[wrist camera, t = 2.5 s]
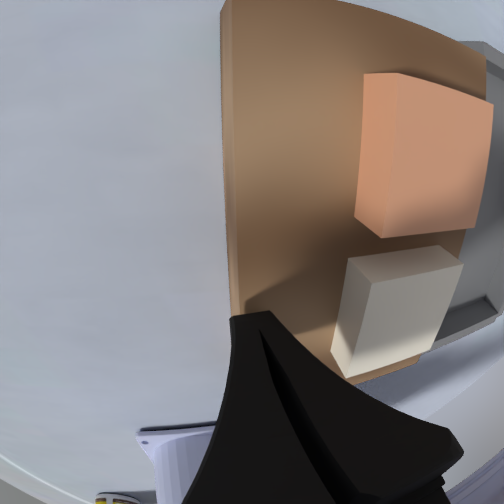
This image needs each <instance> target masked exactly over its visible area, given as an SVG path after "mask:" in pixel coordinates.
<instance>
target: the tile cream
mask: <svg viewBox="0 0 504 504" xmlns="http://www.w3.org/2000/svg"><path fill="white" fill-rule="evenodd" d="M463 265H464V264H463V263H462V262H461V261H460V260H458V259H457V258H456V257H454V256H453V255H452V254H450V253H449V252H448V251H446V250H445V249H444V248H442V247H441V246H440V245H435V246H429V247H422V248H415V249H408V250H402V251H395V252H388V253H381V254H374V255H367V256H359V257H352V258H348V262H347V269H346V275H345V280H344V286H343V292H342V297H341V302H340V308H339V313H338V318H337V323H336V327H335V332H334V337H333V341H332V346H331V350H330V351H331V353H332V355H333V357H334V358H335V360H336V362H337V364H338V366H339V367H340V369H341V371H342V373H343V375H344V376H345V378H349V377H352V376H356V375H359V374H362V373H365V372H369V371H372V370H375V369H378V368H381V367H384V366H387V365H390V364H393V363H396V362H399V361H401V360H404V359H407V358H410V357H412V356H415V355H417V354H420V353H423V352H425V351H428V350H430V348H431V346H432V344H433V342H434V340H435V337H436V335H437V333H438V331H439V329H440V326H441V324H442V322H443V319H444V317H445V314H446V312H447V310H448V307H449V305H450V302H451V299H452V297H453V294H454V291H455V289H456V286H457V283H458V280H459V277H460V275H461V272H462V269H463Z"/></svg>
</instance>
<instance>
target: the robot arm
mask: <svg viewBox="0 0 504 504" xmlns="http://www.w3.org/2000/svg"><path fill="white" fill-rule="evenodd" d="M229 321H230V333H231V356H230V365H229V372H228V377H227V382H226V388H225V392H224V397H223V401H222V405H221V408H220V412H219V415H218V419H217V422H216V425H215V426H207V427H198V428H188V429H177V430H163V431H142V432H137V433H136V440H137V442H138V443H139V444H140V446H141V447H142V449H143V450H144V452H145V453H146V454H147V456H148V457H149V458H150V460H151V461H152V462H153V464H154V472H155V486H156V497H157V504H504V448H503V449H502V450H501V451H500V452H499V453H498V454H497V455H495V456H494V457H493V458H492V459H491V460H489V461H488V462H487V463H486V464H484V465H483V466H482V467H481V468H479V469H478V470H477V471H475V472H474V473H473V474H472V475H470V476H469V477H467V478H466V479H465V480H463V481H462V482H460V483H459V484H458V485H456V486H455V487H453V488H452V489H450V490H449V491H447V492H446V493H445V492H444V490H443V488H442V486H443V485H444V484H445V481H444V479H443V477H442V476H441V475H442V474H443V473H444V472H446V471H447V470H448V469H449V468H450V467H452V466H453V465H454V464H455V463H456V462H457V461H458V460H459V459H460V458H461V457H462V456H463V454H464V451H463V449H462V447H461V446H460V444H459V442H458V441H457V439H456V438H455V436H454V435H453V434H452V432H451V431H450V430H449V429H448V428H445V427H442V426H439V425H436V424H432V423H429V422H426V421H423V420H420V419H417V418H415V417H412V416H410V415H407V414H405V413H403V412H400V411H398V410H396V409H394V408H392V407H390V406H388V405H386V404H384V403H382V402H380V401H378V400H376V399H374V398H373V397H371V396H369V395H367V394H366V393H364V392H362V391H361V390H359V389H358V388H356V387H355V386H353V385H352V384H350V383H349V382H347V381H346V380H344V379H343V378H341V377H340V376H339V375H337V374H336V373H335V372H334V371H332V370H331V369H330V368H329V367H327V366H326V365H325V364H324V363H322V362H321V361H320V360H319V359H318V358H317V357H315V356H314V355H313V354H312V353H311V352H310V351H309V350H308V349H307V348H306V347H305V346H304V345H302V344H301V343H300V342H299V341H298V340H297V339H296V338H295V337H294V336H293V335H292V334H291V333H290V331H289V330H288V329H287V328H286V327H285V326H284V325H283V324H282V323H281V322H280V321H279V319H278V318H277V317H276V316H275V315H274V314H273V313H272V312H271V311H270V310H268V311H261V312H255V313H248V314H241V315H234V316H232V317H231V318H230V319H229Z"/></svg>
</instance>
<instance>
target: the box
mask: <svg viewBox="0 0 504 504" xmlns="http://www.w3.org/2000/svg"><path fill="white" fill-rule="evenodd" d="M457 42H459V43H461V44H463V45H465V46H467V47H469V48H471V49H473V50H475V51H477V52H479V53H481V54H482V55H484V56H486V102H489V103H491V104H493V105H494V107H493V122H492V133H491V143H490V151H489V158H488V165H487V171H486V177H485V183H484V188H483V193H482V198H481V203H480V207H479V212H478V216H477V220H476V224H475V228H468V229H466V233H465V237H464V240H463V244H462V247H461V251H460V254H459V258H458V260H460V261H461V262H462V263H463V264H464V265H463V269H462V272H461V275H460V277H459V280H458V283H457V286H456V289H455V291H454V294H453V297H452V299H451V302H450V305H449V307H448V310H447V312H446V314H445V317H444V319H443V322H442V324H441V326H440V329H439V331H438V333H437V335H436V337H435V340H434V342H433V344H432V346H431V348H430V350H428V351H425V352H423V353H421V355H422V354H425V353H427V352H430V351H432V350H435V349H437V348H439V347H442V346H444V345H446V344H449V343H451V342H453V341H456V340H458V339H460V338H462V337H464V336H467V335H469V334H471V333H473V332H475V331H477V330H479V329H481V328H483V327H485V326H487V325H489V324H491V323H493V322H494V321H495V319H496V318H497V317H499V316H500V315H502V313H503V311H504V54H503V53H501V52H500V51H498V50H496V49H495V48H493V47H492V46H490V45H488V44H487V43H485V42H480V41H457Z"/></svg>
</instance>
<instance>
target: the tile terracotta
mask: <svg viewBox="0 0 504 504" xmlns="http://www.w3.org/2000/svg"><path fill="white" fill-rule="evenodd" d="M493 107H494V105H493V104H491V103H489V102H486V101H484V100H481V99H479V98H476V97H474V96H471V95H468V94H466V93H463V92H460V91H457V90H454V89H451V88H448V87H445V86H442V85H439V84H436V83H433V82H429V81H426V80H422V79H419V78H415V77H411V76H407V75H404V74H399V73H371V74H364V87H363V117H362V136H361V151H360V164H359V175H358V185H357V195H356V204H355V212H354V217H355V218H356V219H357V220H359V221H360V222H361V223H363V224H364V225H365V226H366V227H368V228H369V229H370V230H371V231H373V232H374V233H375V234H376V235H378V236H379V237H380V238H389V237H398V236H406V235H415V234H424V233H433V232H441V231H450V230H459V229H468V228H475V224H476V220H477V216H478V212H479V207H480V203H481V198H482V193H483V188H484V183H485V177H486V171H487V165H488V158H489V151H490V143H491V133H492V122H493Z"/></svg>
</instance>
